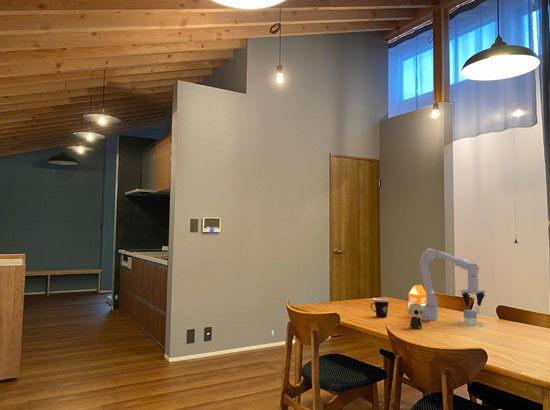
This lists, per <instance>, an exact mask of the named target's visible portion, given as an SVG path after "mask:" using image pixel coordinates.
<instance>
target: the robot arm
mask: <svg viewBox="0 0 550 410" xmlns="http://www.w3.org/2000/svg"><path fill="white" fill-rule="evenodd" d="M436 258H438V259H439V258H442V259H445V260H447V261H450V262H452V263H454V265H455V266H456V267H458V268H460V269H462V270H464V271H465V270H466V271H467V289H461V290H460V293H461V296H462V298H463V300H464V304H465V306H466V307H469V306H470V296H471V295H470V294H475V296H476V305H477V306H479V307H481V305H482V301H483V299H484V298H485V294H486V290H483V289H479V276H478V274H479V273H478V272H479V270H480V268H479V266H478V264H476V263H474V262H472V260H467V259H465V258H464V257H463V256H461V257H460V256H459V257H455V256H452V255H451V254H448V253H446V252H444V251H441V250H437V249H434V248H430V247H429V248H427V249H426V250H424V251H423V253H422V256H421V258H420V260H419V267H420V270H421V276H422V280H423V285H424V286H423V287H424V290H425V292H426V297H425V300H426V302H427V303H426V304H425V306H422V308H424V313H423V315H422V317H421V318H420V319H421V321H425V322H429V321H438V317H439V315H438V312H439V310H438V309H439V307H438V302H439V301H438V298H437V297H436V295H435V292H434V287H433V282H432V278H431V277H432V276H431V273H430V269H429V265H430V263H431V262H432V260H435V259H436Z"/></svg>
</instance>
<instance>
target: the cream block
mask: <svg viewBox="0 0 550 410" xmlns="http://www.w3.org/2000/svg"><path fill="white" fill-rule="evenodd" d="M463 322H464V324H466V325H470V326H473V325H477V324H478V317H477V318H466V317H464V316H463Z"/></svg>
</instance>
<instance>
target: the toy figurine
mask: <svg viewBox="0 0 550 410" xmlns="http://www.w3.org/2000/svg"><path fill="white" fill-rule="evenodd" d="M406 313H407V315H408V316H409V315H410V316H412V317H410V316H409V317H410V318H411V319H410V323H409V326H410V327H411V328H413V329H422V328H423V327H422V326H423V325H422V319H420V317H422V315H423V313H424V308H422V305H420V304H409V303H408V308H407V309H406Z"/></svg>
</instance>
